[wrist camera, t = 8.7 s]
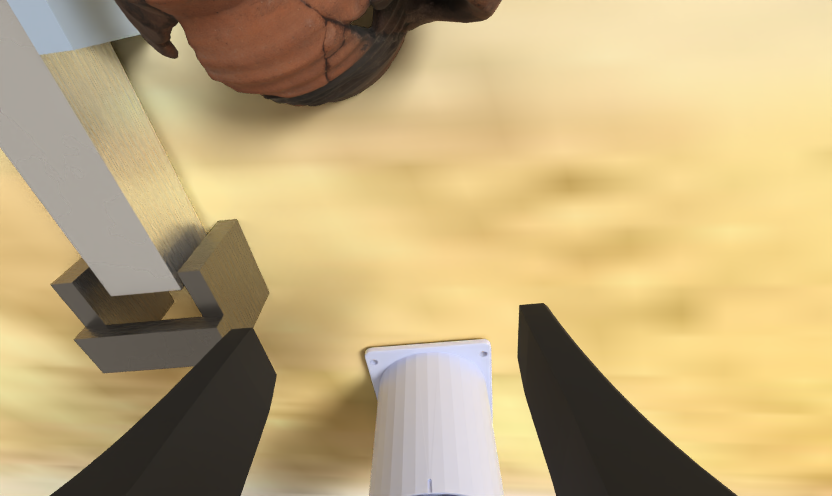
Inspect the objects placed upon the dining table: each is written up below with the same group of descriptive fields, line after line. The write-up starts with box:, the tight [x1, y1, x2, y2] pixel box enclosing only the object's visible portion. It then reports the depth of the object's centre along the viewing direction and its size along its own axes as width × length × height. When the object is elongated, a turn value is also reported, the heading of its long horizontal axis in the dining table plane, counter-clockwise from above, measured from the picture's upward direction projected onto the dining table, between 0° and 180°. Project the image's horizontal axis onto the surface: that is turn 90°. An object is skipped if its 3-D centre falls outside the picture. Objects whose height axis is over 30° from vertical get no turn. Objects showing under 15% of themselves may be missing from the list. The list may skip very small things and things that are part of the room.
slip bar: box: [0, 0, 207, 296], centre depth 16 cm, size 12×3×3 cm, turn 7°
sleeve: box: [50, 219, 269, 373], centre depth 20 cm, size 5×7×5 cm
